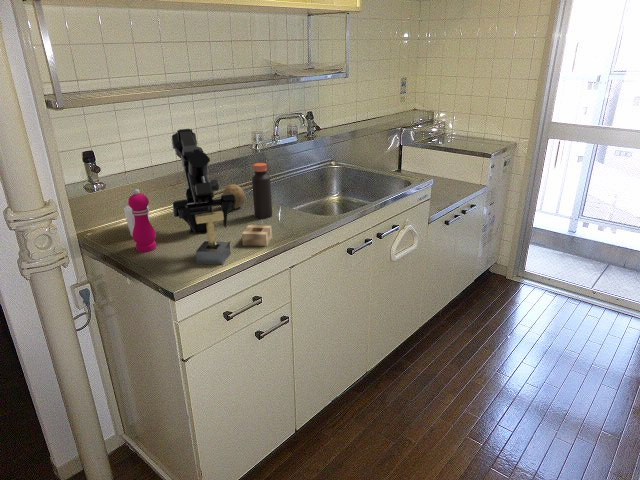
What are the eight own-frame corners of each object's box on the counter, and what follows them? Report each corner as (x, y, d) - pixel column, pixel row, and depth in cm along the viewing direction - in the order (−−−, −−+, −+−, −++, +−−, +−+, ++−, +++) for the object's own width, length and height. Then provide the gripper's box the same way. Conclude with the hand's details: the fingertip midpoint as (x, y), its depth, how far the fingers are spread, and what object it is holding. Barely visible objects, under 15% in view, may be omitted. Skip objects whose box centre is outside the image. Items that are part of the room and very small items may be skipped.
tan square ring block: (242, 245, 154) (241, 233, 153) (249, 235, 162) (248, 225, 160) (266, 245, 153) (265, 234, 152) (272, 236, 161) (271, 225, 159)
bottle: (264, 211, 185) (261, 161, 178) (276, 215, 181) (273, 164, 173) (251, 215, 181) (247, 164, 173) (262, 219, 177) (258, 167, 169)
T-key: (201, 262, 143) (196, 217, 137) (200, 259, 145) (194, 214, 139) (227, 257, 146) (223, 213, 140) (226, 254, 148) (221, 210, 142)
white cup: (129, 239, 161) (124, 212, 157) (128, 232, 168) (123, 205, 164) (153, 235, 164) (149, 208, 160) (151, 228, 170) (147, 202, 167)
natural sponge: (218, 210, 188) (215, 185, 185) (232, 203, 196) (230, 180, 192) (236, 213, 184) (234, 188, 181) (250, 206, 192) (248, 182, 188)
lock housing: (197, 263, 142) (195, 251, 140) (206, 252, 149) (204, 241, 148) (222, 264, 141) (221, 252, 139) (230, 253, 148) (229, 241, 147)
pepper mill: (144, 254, 149) (134, 193, 141) (130, 249, 153) (118, 190, 145) (162, 246, 155) (153, 187, 147) (148, 242, 158) (138, 184, 151)
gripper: (168, 174, 137) (178, 221, 132) (231, 167, 144) (243, 212, 139) (169, 194, 147) (178, 238, 142) (228, 186, 154) (239, 228, 148)
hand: (210, 229), depth 142 cm, fingers open, 9 cm apart
